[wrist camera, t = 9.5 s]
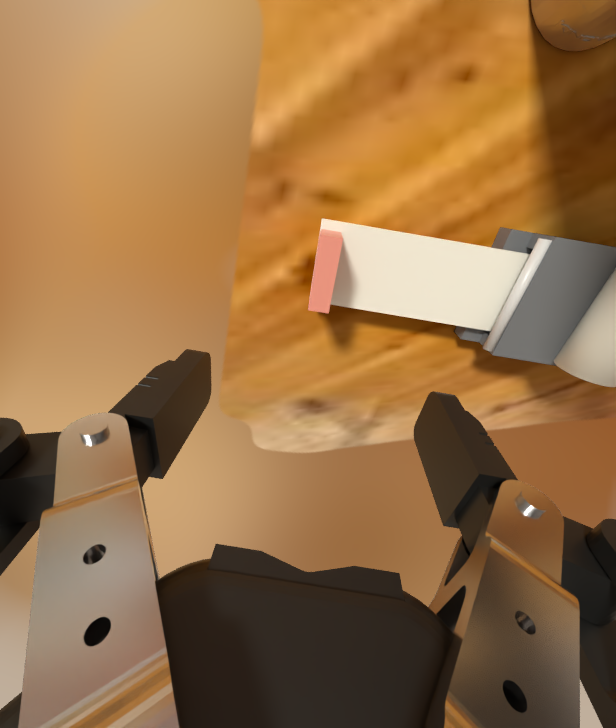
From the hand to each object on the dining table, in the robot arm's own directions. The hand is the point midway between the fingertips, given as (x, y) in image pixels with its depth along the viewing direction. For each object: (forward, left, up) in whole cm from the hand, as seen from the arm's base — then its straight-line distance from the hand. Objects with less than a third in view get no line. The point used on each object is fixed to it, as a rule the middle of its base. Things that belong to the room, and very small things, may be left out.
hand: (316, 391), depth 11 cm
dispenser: (-1, +23, -23) cm, 32 cm away
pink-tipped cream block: (-1, +9, -21) cm, 22 cm away
